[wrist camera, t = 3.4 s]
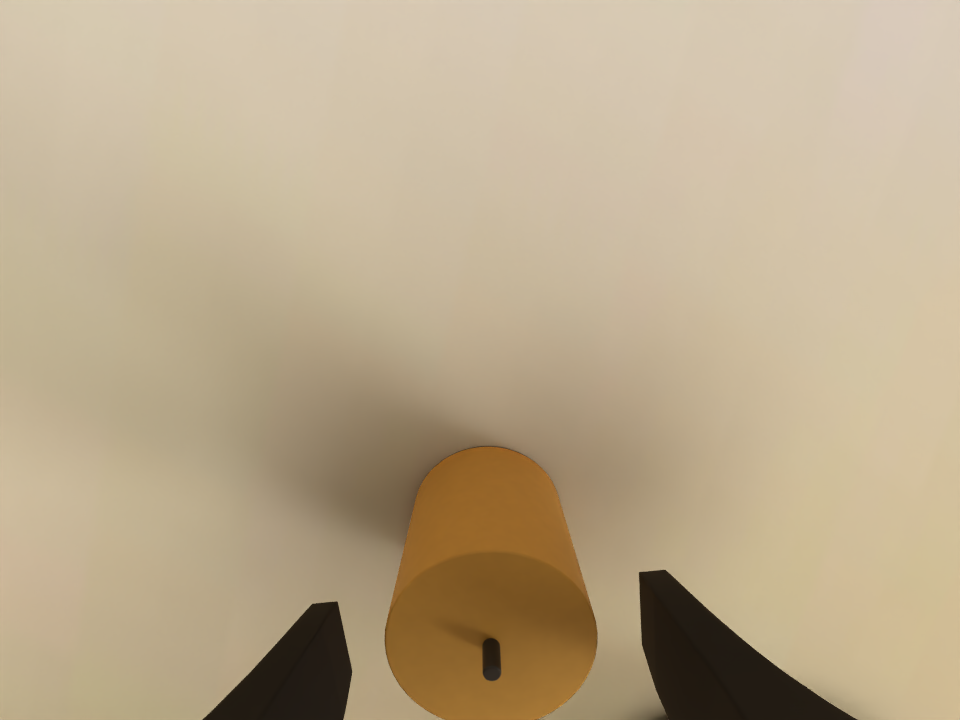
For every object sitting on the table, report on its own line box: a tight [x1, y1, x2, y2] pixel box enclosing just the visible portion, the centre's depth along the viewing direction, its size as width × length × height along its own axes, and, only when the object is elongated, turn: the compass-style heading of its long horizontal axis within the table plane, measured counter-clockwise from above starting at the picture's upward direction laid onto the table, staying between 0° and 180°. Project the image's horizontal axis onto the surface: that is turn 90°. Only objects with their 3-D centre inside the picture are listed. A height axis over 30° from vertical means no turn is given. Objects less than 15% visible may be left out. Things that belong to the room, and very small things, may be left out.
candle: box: [385, 447, 597, 720], centre depth 14 cm, size 5×5×6 cm
